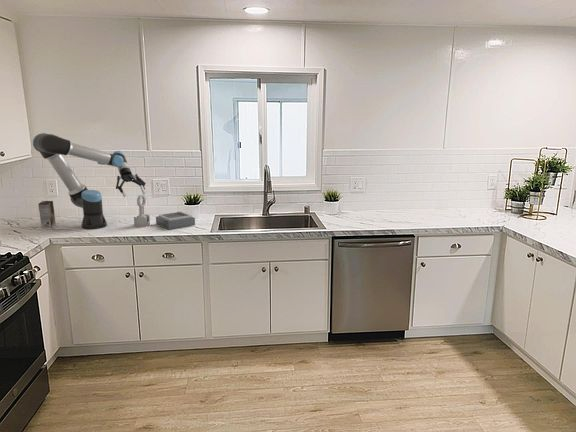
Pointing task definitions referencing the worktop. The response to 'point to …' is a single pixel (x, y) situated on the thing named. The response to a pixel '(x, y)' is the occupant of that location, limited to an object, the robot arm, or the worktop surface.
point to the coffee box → (47, 214)
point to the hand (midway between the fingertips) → (134, 194)
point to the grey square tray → (175, 220)
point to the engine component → (141, 214)
